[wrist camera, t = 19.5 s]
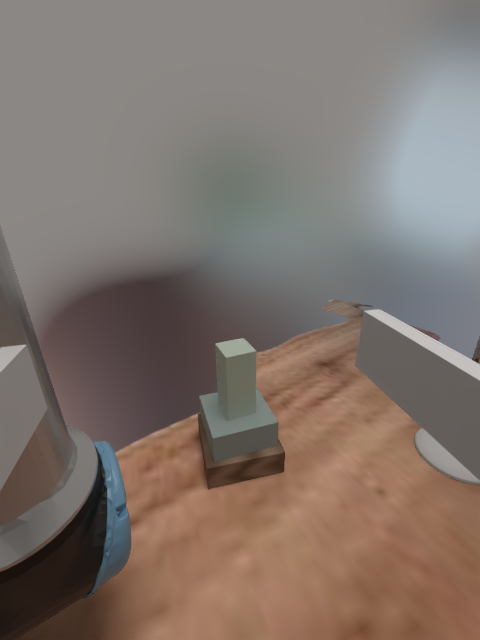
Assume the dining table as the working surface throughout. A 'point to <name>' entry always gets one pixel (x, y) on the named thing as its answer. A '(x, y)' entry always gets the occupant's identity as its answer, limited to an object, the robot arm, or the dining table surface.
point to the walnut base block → (240, 463)
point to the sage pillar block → (236, 378)
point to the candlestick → (442, 458)
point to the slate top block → (237, 428)
